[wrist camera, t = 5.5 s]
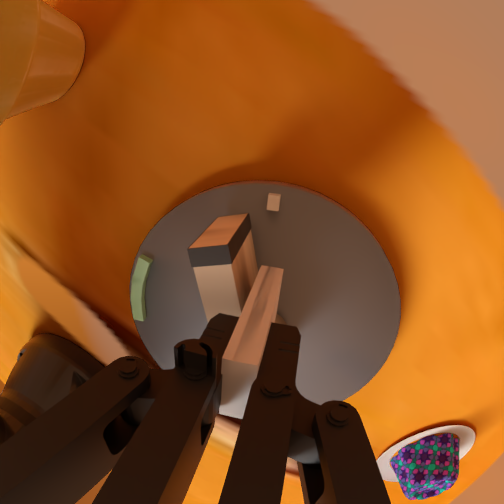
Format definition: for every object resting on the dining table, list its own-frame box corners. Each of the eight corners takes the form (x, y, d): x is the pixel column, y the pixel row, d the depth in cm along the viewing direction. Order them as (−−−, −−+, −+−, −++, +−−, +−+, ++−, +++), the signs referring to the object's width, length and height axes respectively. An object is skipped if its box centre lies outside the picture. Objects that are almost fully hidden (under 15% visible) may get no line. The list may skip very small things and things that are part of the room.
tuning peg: (292, 356, 20) (285, 415, 15) (232, 358, 20) (213, 413, 16) (271, 209, 16) (256, 243, 12) (198, 218, 17) (159, 253, 12)
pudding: (351, 460, 27) (352, 500, 22) (448, 404, 22) (462, 447, 18) (405, 484, 28) (409, 516, 24) (486, 438, 24) (497, 471, 19)
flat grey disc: (353, 414, 24) (354, 432, 22) (150, 377, 26) (141, 392, 24) (427, 207, 17) (439, 217, 15) (135, 167, 19) (118, 172, 17)
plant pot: (84, 141, 19) (-32, 168, 10) (4, 117, 19) (-87, 135, 10) (129, 0, 14) (26, -47, 5) (37, 3, 14) (-53, -12, 5)
